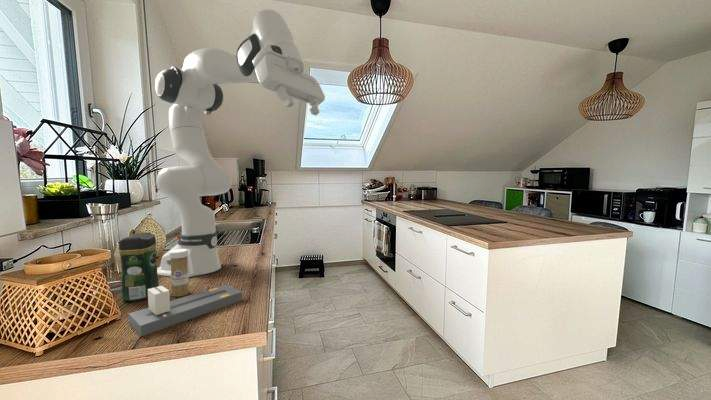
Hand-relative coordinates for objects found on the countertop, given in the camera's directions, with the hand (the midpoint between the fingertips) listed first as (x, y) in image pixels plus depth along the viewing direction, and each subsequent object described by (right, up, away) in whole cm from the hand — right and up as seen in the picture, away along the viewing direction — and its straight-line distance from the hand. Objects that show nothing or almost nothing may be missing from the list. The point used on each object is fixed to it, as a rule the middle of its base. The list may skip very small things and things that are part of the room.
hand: (303, 109), depth 72 cm
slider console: (-30, -52, +3) cm, 60 cm away
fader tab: (-35, -50, -3) cm, 61 cm away
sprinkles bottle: (-40, -51, +14) cm, 66 cm away
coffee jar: (-51, -51, +12) cm, 73 cm away
